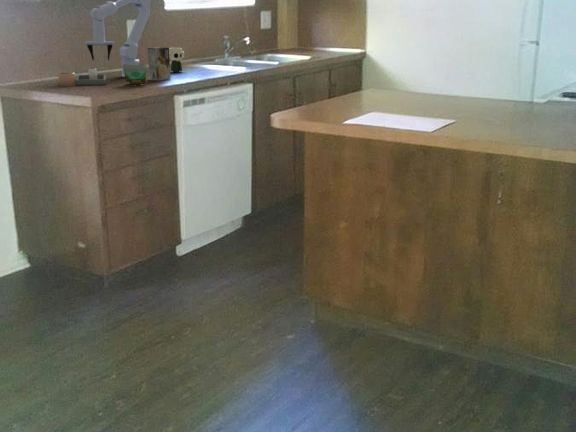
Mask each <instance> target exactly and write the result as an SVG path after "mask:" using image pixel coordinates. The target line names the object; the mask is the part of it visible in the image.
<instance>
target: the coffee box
mask: <svg viewBox="0 0 576 432" xmlns="http://www.w3.org/2000/svg"><path fill="white" fill-rule="evenodd" d="M169 48H170V47H164V46H157V47H147V57H148V58H147V60H148V77H149V81H155V80H156V81H165V80H171V62H170V61H171V60H170V58H169Z"/></svg>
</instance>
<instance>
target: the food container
mask: <svg viewBox="0 0 576 432" xmlns="http://www.w3.org/2000/svg"><path fill="white" fill-rule="evenodd" d="M122 69H124V74H125V77H124V79H125V85H126V84H127V85H126V86H128V85H141V84H145V85H146V83H147V82H146V81H147V69H149V66H148V64H147V63H144V64H140V65H124V64H123V67H122V66H121V70H122Z"/></svg>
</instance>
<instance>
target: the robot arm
mask: <svg viewBox="0 0 576 432" xmlns="http://www.w3.org/2000/svg"><path fill="white" fill-rule="evenodd" d="M151 2H152V0H116V1H115V2H114V1H105V3H103V4H102V5H98V8H97V7H94V8H92V9H91V11H90V13H89V16H90V18H91V20H92V35H93V36H92V37H93V41H92V40H91V41H84V46H85V47H86V46H87V49H88V51H89V53H90V56H91V59H92V61H95V57H94V47H95V46H106V47H107V61H110V55H111V53H112V49H113V46H115V41H110V40H109V41H108V40H106V32H105V31H106V30H105V18H106V17H109V16H111V15H113V14H115V13H117V11H118V9H119V8H121V7H123V6H126V5H128V4H130V3H131V4H134V5H135V7H136V8H137V10H138V14H137V17H136V19H135V22H134V23H133V26H132V28H131V31H130V33H129V35H128V38H127V39H126V40H125V41H124V42H123V45H122V46H120V48H119V51H118V54H119V56H120V57H121V73H122V74H121V77H122V78H125V74H124V69H122V67H123V64H124V65H141V64H140V59H138V58H137V56H138V49H139V44H138V43H139V41H140V38H141V36H142V33H144V29H145V27H146V24H147V22H148V20H149V18H150V16H151ZM93 46H94V47H93ZM136 58H137V59H136Z"/></svg>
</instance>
